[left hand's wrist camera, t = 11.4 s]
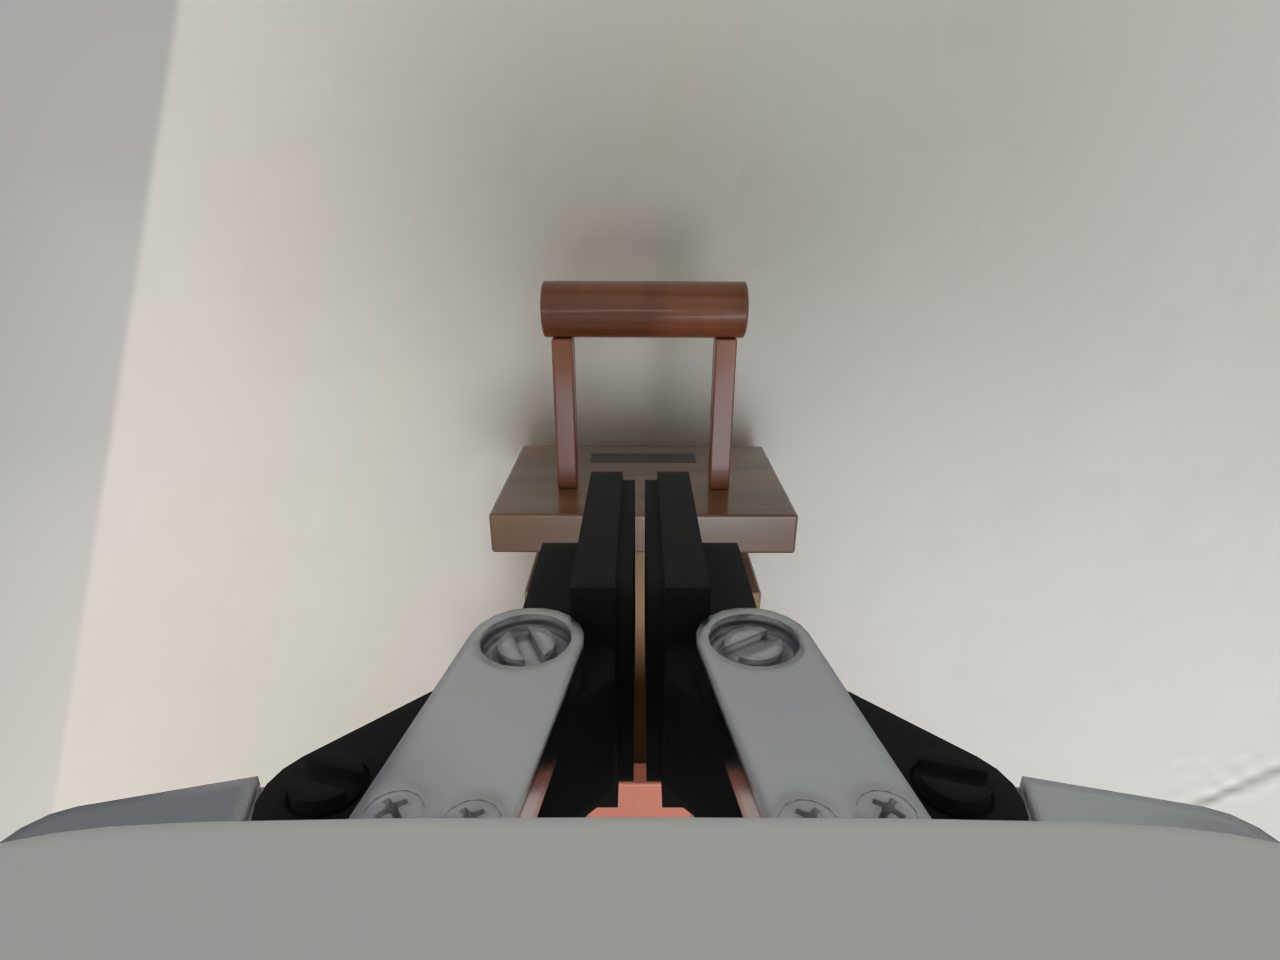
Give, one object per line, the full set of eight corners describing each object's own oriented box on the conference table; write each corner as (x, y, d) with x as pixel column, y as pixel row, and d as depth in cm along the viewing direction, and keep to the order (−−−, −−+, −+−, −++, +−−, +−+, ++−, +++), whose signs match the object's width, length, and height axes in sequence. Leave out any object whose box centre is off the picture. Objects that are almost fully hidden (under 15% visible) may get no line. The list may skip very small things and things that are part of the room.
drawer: (512, 269, 23) (469, 288, 17) (774, 271, 23) (819, 290, 17) (543, 776, 30) (521, 906, 25) (738, 777, 30) (761, 907, 25)
